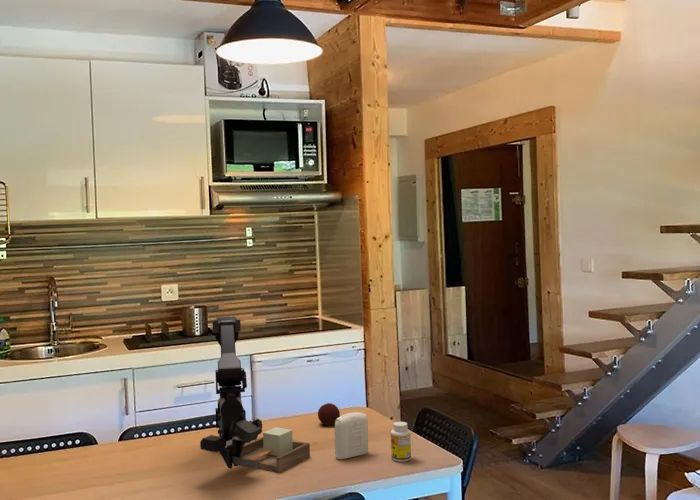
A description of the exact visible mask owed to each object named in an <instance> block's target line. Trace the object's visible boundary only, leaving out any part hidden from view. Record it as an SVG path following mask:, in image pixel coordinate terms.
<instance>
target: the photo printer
mask: <svg viewBox="0 0 700 500" xmlns="http://www.w3.org/2000/svg"><path fill="white" fill-rule="evenodd" d="M368 420H369V419H368V417H367V415H366V414H365V413H363V412H355V411H354V412H353V411H352V412H349V413H345V414H343V415H340V417H339V418H337V419H336V420H335V424H334V446H335V447H334V450H335V451H334V453H335V454H334V455H335V458H336V459H338V460H345V459H351V458H354V457H358V456H362V455H366V454H368V453H369V421H368Z"/></svg>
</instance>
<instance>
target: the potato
mask: <svg viewBox="0 0 700 500" xmlns="http://www.w3.org/2000/svg"><path fill="white" fill-rule="evenodd" d="M340 416H341V412H340V410H339V407H337V406H336V405H335V404H334V403H330V402H327V403H325V404H323V405H321V406H320V407H319V408H318V411H317V417H318V420H319V421H320V423H321V424H323V425H325V426H332V425H335V420H336V419H337V418H339V417H340Z"/></svg>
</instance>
